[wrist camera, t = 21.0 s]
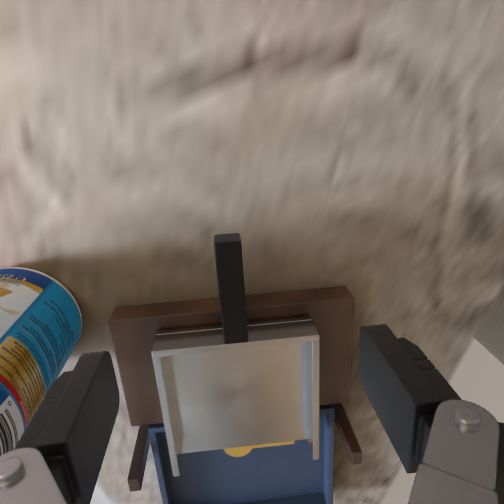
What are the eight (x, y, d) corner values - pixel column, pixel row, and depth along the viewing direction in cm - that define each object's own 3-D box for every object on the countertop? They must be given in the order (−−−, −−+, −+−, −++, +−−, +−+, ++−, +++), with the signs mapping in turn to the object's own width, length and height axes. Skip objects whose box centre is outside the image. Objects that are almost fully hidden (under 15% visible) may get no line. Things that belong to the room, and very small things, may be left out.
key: (224, 454, 35) (224, 458, 35) (221, 432, 34) (221, 435, 34) (293, 447, 35) (294, 451, 35) (293, 424, 34) (294, 428, 34)
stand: (345, 285, 30) (369, 320, 26) (341, 414, 35) (361, 463, 30) (114, 307, 29) (95, 347, 25) (141, 436, 34) (129, 491, 29)
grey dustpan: (310, 222, 26) (319, 234, 24) (311, 434, 32) (319, 459, 30) (140, 236, 25) (132, 249, 23) (176, 449, 32) (173, 476, 29)
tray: (328, 392, 34) (335, 408, 32) (327, 492, 38) (332, 510, 37) (151, 411, 33) (147, 429, 31) (170, 511, 37) (168, 531, 36)
